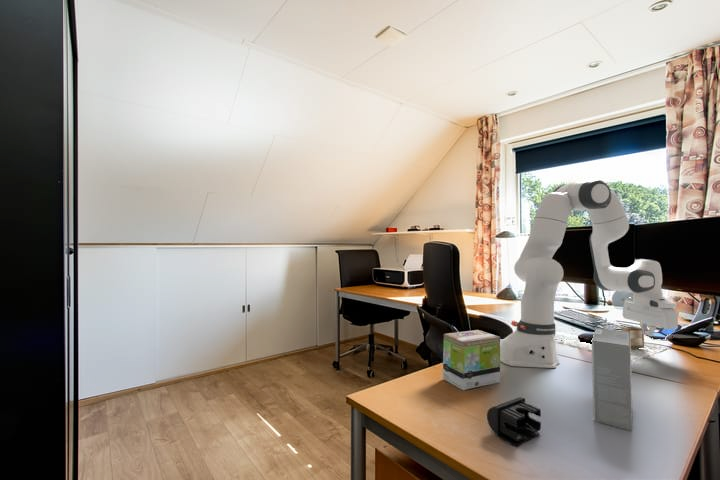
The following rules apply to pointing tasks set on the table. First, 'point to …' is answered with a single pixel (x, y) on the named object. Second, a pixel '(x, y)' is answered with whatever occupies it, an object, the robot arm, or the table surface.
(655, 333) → the handheld game console
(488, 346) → the tea box
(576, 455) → the table surface
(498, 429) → the end cap
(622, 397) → the hard drive box
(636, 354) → the carpet tile
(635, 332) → the brown rectangular block
